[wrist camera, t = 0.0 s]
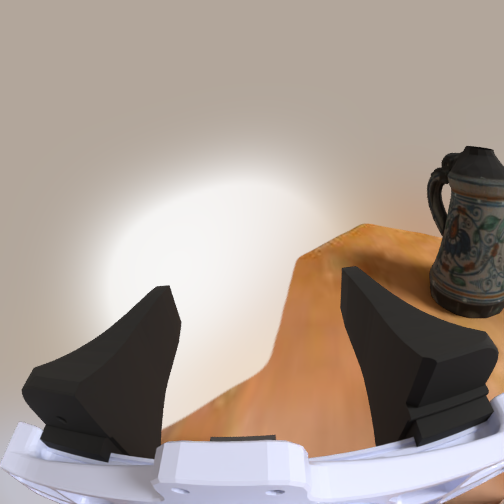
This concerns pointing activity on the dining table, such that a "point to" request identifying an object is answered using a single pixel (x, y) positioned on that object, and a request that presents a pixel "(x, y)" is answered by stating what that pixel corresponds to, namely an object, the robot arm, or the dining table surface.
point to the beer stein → (469, 233)
